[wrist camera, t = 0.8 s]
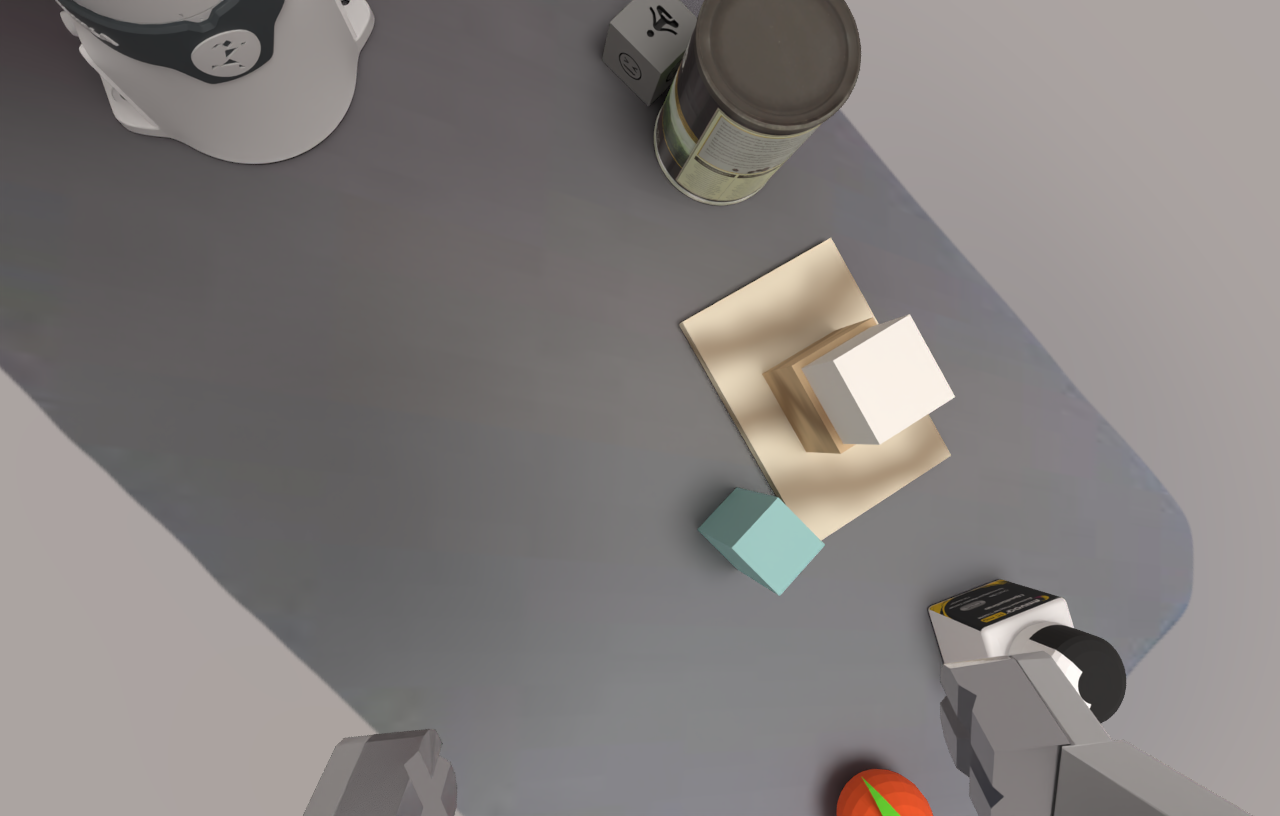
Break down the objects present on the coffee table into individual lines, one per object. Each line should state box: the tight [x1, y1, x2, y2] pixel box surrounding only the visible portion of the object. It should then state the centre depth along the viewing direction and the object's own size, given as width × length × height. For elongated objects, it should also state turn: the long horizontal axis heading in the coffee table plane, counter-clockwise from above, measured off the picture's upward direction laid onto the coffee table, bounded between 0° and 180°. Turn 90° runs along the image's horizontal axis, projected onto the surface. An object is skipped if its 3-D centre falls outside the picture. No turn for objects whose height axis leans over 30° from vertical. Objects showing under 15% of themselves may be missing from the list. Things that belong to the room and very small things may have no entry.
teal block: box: [697, 487, 825, 596], centre depth 49 cm, size 4×4×9 cm
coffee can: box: [654, 0, 861, 206], centre depth 48 cm, size 10×10×14 cm
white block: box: [801, 314, 955, 445], centre depth 45 cm, size 6×6×5 cm
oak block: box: [762, 317, 877, 454], centre depth 51 cm, size 7×7×6 cm
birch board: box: [679, 238, 951, 540], centre depth 54 cm, size 20×14×1 cm
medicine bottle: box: [929, 580, 1126, 724], centre depth 51 cm, size 7×7×12 cm
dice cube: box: [602, 0, 697, 107], centre depth 52 cm, size 5×5×5 cm
